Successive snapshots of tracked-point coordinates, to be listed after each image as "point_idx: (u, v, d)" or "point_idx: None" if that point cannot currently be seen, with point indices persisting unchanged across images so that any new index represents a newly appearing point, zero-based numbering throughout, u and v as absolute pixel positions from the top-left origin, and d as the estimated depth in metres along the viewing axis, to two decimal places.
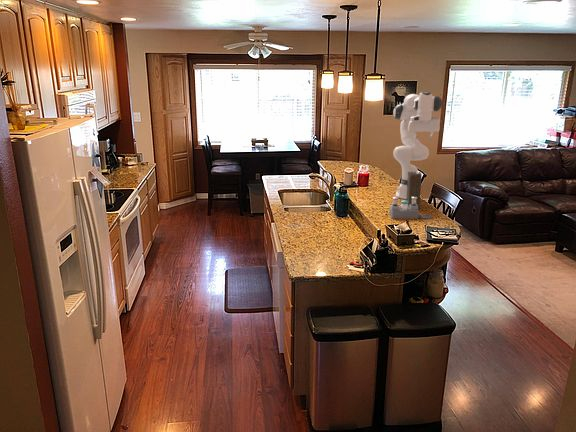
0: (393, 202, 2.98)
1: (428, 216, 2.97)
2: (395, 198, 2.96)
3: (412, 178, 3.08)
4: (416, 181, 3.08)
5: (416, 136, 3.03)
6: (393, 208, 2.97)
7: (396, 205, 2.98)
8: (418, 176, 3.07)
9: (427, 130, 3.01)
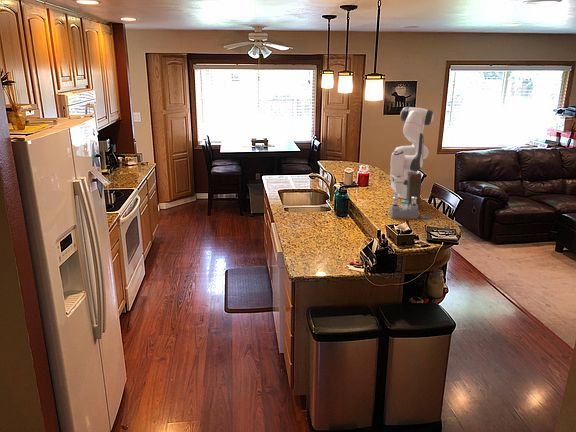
0: (393, 202, 2.98)
1: (428, 216, 2.97)
2: (395, 198, 2.96)
3: (412, 178, 3.08)
4: (416, 181, 3.08)
5: None
6: (393, 208, 2.97)
7: (396, 205, 2.98)
8: (418, 176, 3.07)
9: None
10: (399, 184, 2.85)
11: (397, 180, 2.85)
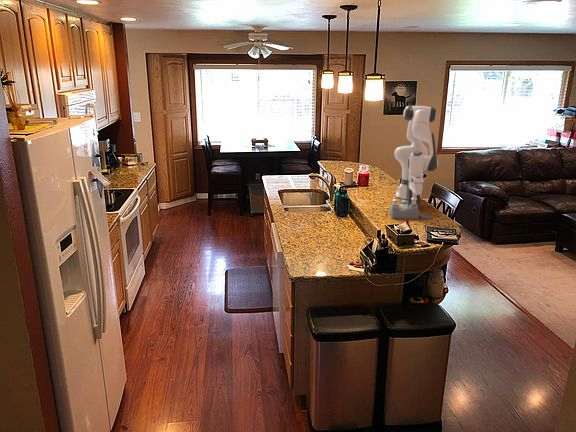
0: (393, 204, 2.98)
1: (428, 216, 2.97)
2: (395, 200, 2.96)
3: None
4: None
5: None
6: (393, 208, 2.97)
7: None
8: None
9: None
10: (418, 185, 2.85)
11: (416, 181, 2.85)
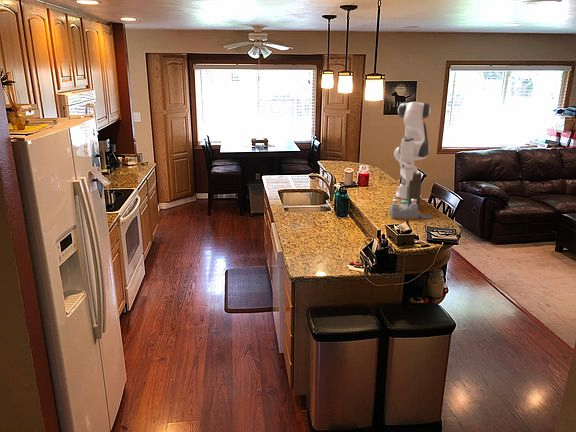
0: (393, 204, 2.98)
1: (428, 216, 2.97)
2: (395, 200, 2.96)
3: None
4: (416, 181, 3.08)
5: None
6: (393, 208, 2.97)
7: None
8: (418, 176, 3.07)
9: None
10: (409, 171, 2.83)
11: (407, 167, 2.83)
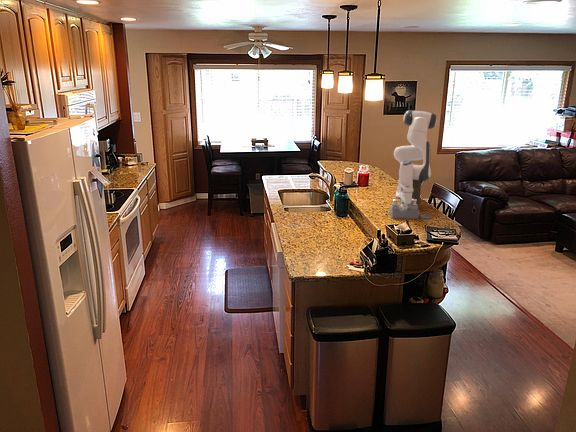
0: (393, 204, 2.98)
1: (428, 216, 2.97)
2: (395, 200, 2.96)
3: None
4: (416, 181, 3.08)
5: (406, 205, 2.96)
6: (393, 208, 2.97)
7: None
8: None
9: None
10: (408, 194, 2.87)
11: (406, 190, 2.87)
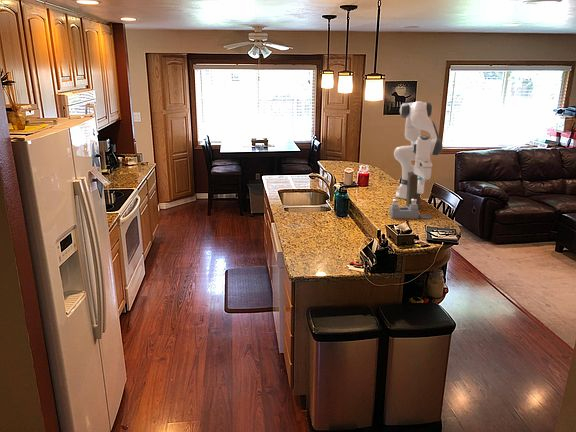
0: (393, 204, 2.98)
1: (428, 216, 2.97)
2: (395, 200, 2.96)
3: (412, 178, 3.08)
4: (416, 181, 3.08)
5: None
6: (393, 208, 2.97)
7: None
8: None
9: None
10: (427, 169, 2.80)
11: (425, 165, 2.80)
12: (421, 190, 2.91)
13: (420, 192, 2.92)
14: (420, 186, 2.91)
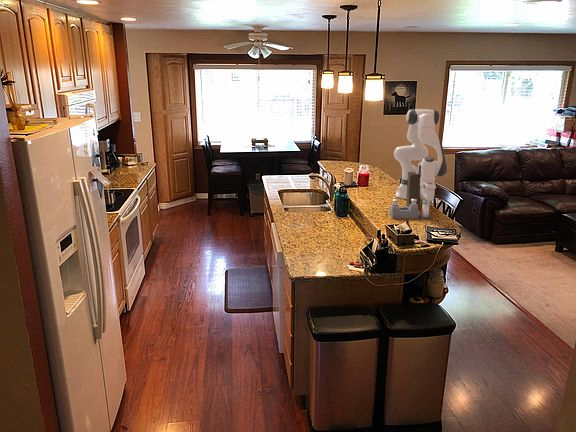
0: (393, 204, 2.98)
1: None
2: (395, 200, 2.96)
3: (412, 178, 3.08)
4: (416, 181, 3.08)
5: None
6: (393, 208, 2.97)
7: None
8: (418, 176, 3.07)
9: None
10: (430, 191, 2.83)
11: (428, 187, 2.83)
12: (425, 214, 2.95)
13: (424, 216, 2.95)
14: (424, 210, 2.94)
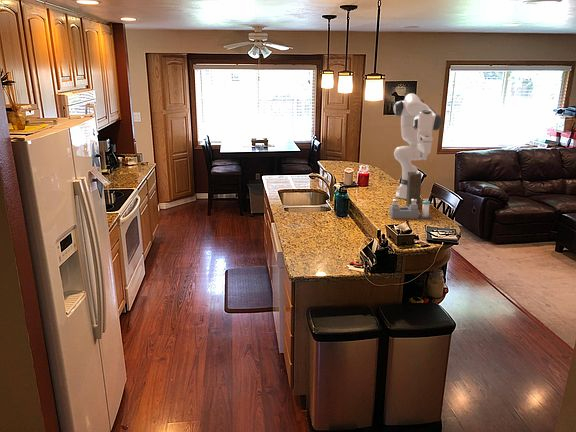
0: (393, 204, 2.98)
1: None
2: (395, 200, 2.96)
3: (412, 178, 3.08)
4: (416, 181, 3.08)
5: None
6: (393, 208, 2.97)
7: None
8: (418, 176, 3.07)
9: None
10: (427, 143, 2.82)
11: (425, 139, 2.82)
12: (425, 214, 2.95)
13: (424, 216, 2.95)
14: (424, 210, 2.94)
